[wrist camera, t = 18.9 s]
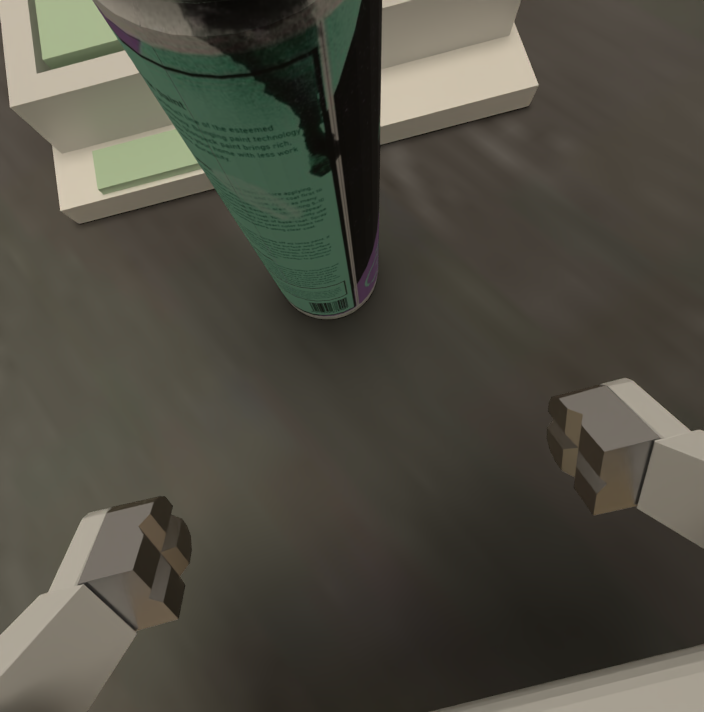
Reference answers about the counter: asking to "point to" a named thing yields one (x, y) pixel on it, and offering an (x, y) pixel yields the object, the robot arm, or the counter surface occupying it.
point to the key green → (73, 32)
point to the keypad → (167, 148)
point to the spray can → (277, 126)
